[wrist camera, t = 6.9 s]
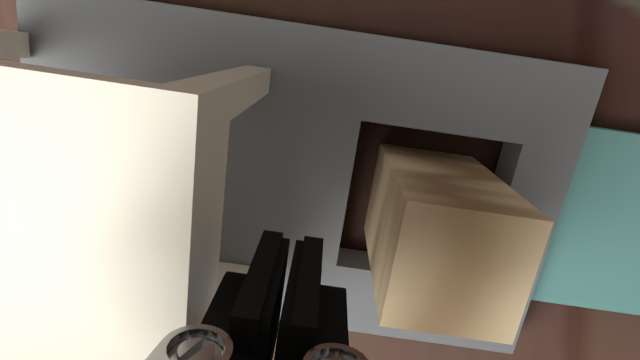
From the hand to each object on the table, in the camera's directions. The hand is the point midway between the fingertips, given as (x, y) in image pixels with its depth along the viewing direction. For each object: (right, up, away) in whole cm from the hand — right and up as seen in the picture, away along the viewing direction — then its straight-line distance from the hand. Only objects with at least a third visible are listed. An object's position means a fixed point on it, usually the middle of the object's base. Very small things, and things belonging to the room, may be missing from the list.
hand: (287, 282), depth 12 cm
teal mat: (+17, +1, +9) cm, 19 cm away
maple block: (+6, +2, +9) cm, 11 cm away
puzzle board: (0, +3, +9) cm, 10 cm away
